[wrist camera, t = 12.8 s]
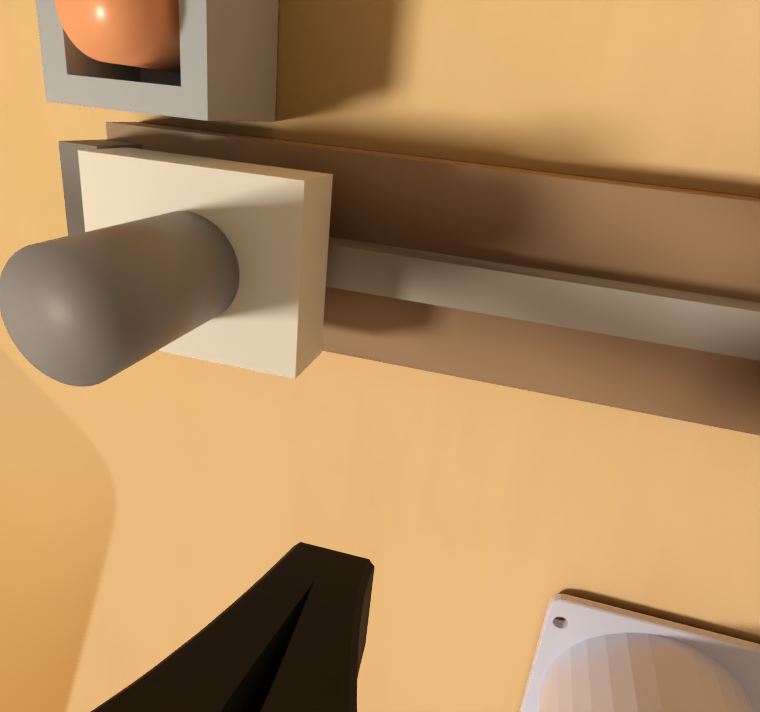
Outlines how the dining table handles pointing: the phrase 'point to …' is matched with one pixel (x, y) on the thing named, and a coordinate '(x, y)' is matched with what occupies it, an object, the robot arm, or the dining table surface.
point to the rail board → (520, 273)
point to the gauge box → (197, 61)
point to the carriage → (176, 268)
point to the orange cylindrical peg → (125, 31)
